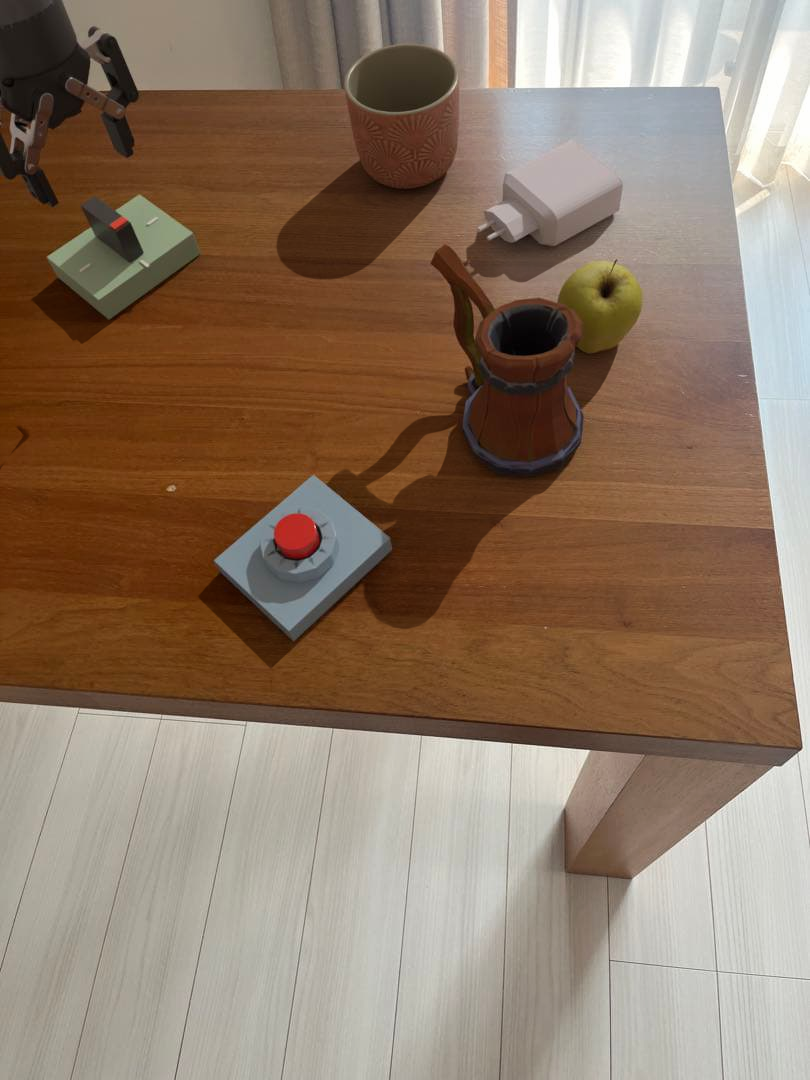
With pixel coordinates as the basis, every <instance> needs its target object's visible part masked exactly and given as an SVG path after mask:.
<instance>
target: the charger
mask: <svg viewBox="0 0 810 1080" xmlns="http://www.w3.org/2000/svg"><path fill="white" fill-rule="evenodd" d="M623 188H624V184H623V181H622V179H621V177H620V176H619V175H618V174H617V173H616V171H615V170H613V169H612V168H610V167H609V166H608V165H607V164H605V163H604V162H603V161H602V160H600V159H599V158H598V157H596V155H594V154H593V153H592V152H590V151H589V150H588V149H586V148H585V147H584V146H583V145H581V143H579V142H578V141H576V140H574V139H568V140H567V141H565V142H563V143H562V144H559V145H557V146H555V147H554V148H552V149H550V150H548V151H546V152H545V153H542V154H541V155H538V156H537V157H535V158H532V159H531V160H529V161H527V162H525V163H523V164H522V165H520V166H518V167H516V168H514V169H512V170H510V171H508V172H506V173H505V174H504V177H503V183H502V201H500V202H498V203H497V204H495V205H493V206H491V207H490V208H487V209H485V210H484V211H483V214H484V217H485V219H486V221H487V222H485V223H484V224H482V225H480V226H478V227H477V232H479V233H481V232H482V231H484V230H486V229H487V228H491V229H492V230H493V231H494V232H493V233H491V234H489V235H488V236H486V240H487V241H491V240H493V239H495V238H497V237H500V238H502V239H503V241H505V242H508V243H511V244H513V243H515V242H517V241H519V240H520V239H523V238H524V237H526V236H527V235H530V236H531V237H532V238H533V239H534V240H535V241H536V242H537V243H539V244H540V245H544V246H549V247H556V246H557V245H559V244H562V243H563V242H565V241H567V240H568V239H570V238H572V237H574V236H576V235H578V234H579V233H582V232H583V231H584V230H586V229H588V228H590V227H592V226H593V225H595V224H598V223H600V222H601V221H603V220H605V219H607V218H609V217H610V216H612V215H614V214H615V213H617V212H619V210H620V207H621V201H622V194H623Z"/></svg>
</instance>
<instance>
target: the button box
mask: <svg viewBox="0 0 810 1080" xmlns="http://www.w3.org/2000/svg"><path fill="white" fill-rule="evenodd" d="M295 513H300V514H304V515H307V516H308V517H310V518H311V519H312V520H313V521H314V523H315V526H316V529H317V532H318V535H319V544H318V546H317V548H316V550H315V551H314V552H313V553H312V554H311V555H309V556H308V557H306V558H303V559H290V558H288V557H286V556H284V555H283V554H282V553H281V552H280V550H279V548H278V546H277V543H276V541H275V538H274V530H275V527H276V525H277V523H278V522H279V521H280V520H281V519H282V518H283V517H285V516H287V515H290V514H295ZM391 541H392V540H391V537H390V536H389V535H387V534H386V533H385V532H384V531H382V530H381V529H380V528H379V527H377V526H376V524H374V523H373V522H371V520H369V519H368V518H367V517H365V516H364V515H363V514H362V513H361V512H359V511H358V510H357V509H356V508H355V507H353V506H352V505H351V504H350V503H348V502H347V501H346V500H345V499H343V498H342V497H341V496H340V495H339V494H338V493H336V492H335V491H334V490H333V489H332V488H331V487H329V486H328V485H327V484H325V483H324V482H323V481H322V480H321V479H319V478H318V477H317V476H315V474H312V475H311V476H310V477H309V478H308V479H306V480H305V481H304V482H303V483H302V484H300V485H299V486H298V487H297V488H296V489H295V490H294V491H292V492H291V493H290V494H289V495H288V496H287V497H285V498H284V499H283V500H282V501H281V502H280V503H278V505H276V506H275V507H274V508H273V509H272V510H270V511H269V512H268V513H267V514H266V515H264V516H263V517H262V519H260V520H259V521H257V523H256V524H254V525H253V526H252V527H250V529H248V530H247V531H246V532H245V533H244V534H242V535H241V536H240V537H239V538H238V539H237V540H236V541H235V542H233V543H232V544H231V545H230V546H229V547H228V548H226V549H225V550H224V551H223V552H222V553H220V554H219V555H217V557H216V558H215V559H213V562H214V564H215V566H216V567H217V570H218V571H219V572H220V573H221V574H222V576H224V577H225V579H227V580H228V581H229V582H230V583H232V585H233V586H234V587H235V588H236V589H237V590H239V591H240V592H241V594H243V595H244V596H245V597H246V598H247V599H248V600H249V601H250V602H251V603H252V604H253V605H254V606H255V607H256V608H257V609H259V610H260V612H262V614H264V615H265V616H266V617H267V618H268V619H269V620H270V621H271V622H272V623H274V624H275V626H277V627H278V628H279V629H280V630H281V631H282V632H283V633H284V634H285V635H286V636H287V637H288V638H289V639H290V640H291V641H292V642H295V641H296V640H297V639H298V638H299V637H300V636H301V635H303V634H304V633H305V631H307V630H309V628H310V627H311V626H312V625H313V624H315V623H316V622H317V620H318V619H320V617H322V616H323V615H324V614H325V613H326V612H328V610H330V609H331V608H332V607H333V606H334V605H335V604H336V602H338V601H339V600H340V599H341V598H342V597H343V596H344V595H345V594H347V593H348V592H349V591H350V590H351V589H352V588H353V587H354V586H355V585H356V584H357V583H358V582H360V580H362V579H363V578H364V577H365V576H366V575H367V574H368V573H370V572H371V571H372V570H373V568H375V566H376V565H378V564H379V563H380V562H381V561H382V560H384V558H385V557H387V555H388V554H389V553H391V552H392V551H393V546H392V542H391Z"/></svg>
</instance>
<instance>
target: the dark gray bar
mask: <svg viewBox="0 0 810 1080" xmlns="http://www.w3.org/2000/svg"><path fill="white" fill-rule="evenodd" d="M80 208H81V209H82V212H83V214H84V216H85V218H86V220H87V222H88V224H89V226H90V227H91V228H92V230H93V232H94V234H95V236H96V237H97V238H99V239H100V240H101V241H102V242H104V243H105V244H106V245H108V246H109V247H110V248H111V249H113V250H114V251H115V252H117V253H118V254H119V255H120V256H122V257H123V258H124V259H126V260H127V261H128V262H129V263H130V262H131V261H133V260H134V259H136V258H137V257H139V256H140V255H141V254H143V253H144V252H143V250H142V247H141V245H140V243H139V241H138V238H137V236H136V234H135V231H134V229H133V227H132V225H131V222H130V221H128V220H127V219H125V218H124V217H123V216H121V215H120V214H119V213H117V212H116V211H115V209H114V208H112V207H111V206H110V205H108V204H107V203H106V202H104V201H103V200H101V199H100V198H99V197H98V196H96V195H94V196H93V197H91V198H90V199H88V200H86V201H85V202H83V203H82V204H81V205H80Z"/></svg>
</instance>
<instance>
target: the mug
mask: <svg viewBox="0 0 810 1080" xmlns="http://www.w3.org/2000/svg"><path fill="white" fill-rule="evenodd" d="M430 264H431V265H432V266H433V267H434V268H435V269H436V270H437V271H438V272H439V273H440V274H441V275H442V277H443V278H444V279H445V280H446V282H447V283H448V284H449V287H450V291H451V294H452V298H453V307H454V311H453V323H452V325H453V330H454V333H455V337H456V340H457V342H458V343H459V346H460V347H461V349H462V350H463V352H464V353H465V355H466V357H467V358H468V360H469V361H470V363H471V366H470V365H467V366H465V367H464V373H465V377H466V380H467V381H468V382H467V389H468V391H469V393H470V394H471V395H470V397H468V398H467V399H466V400H465V403H464V409H463V416H462V417H463V418H462V424H461V425H462V428H461V429H462V434H463V436H464V438H465V440H466V443H467V444H468V446H469V448H470V450H471V452H472V454H473V456H474V457H475V458H476V460H478V461H479V462H481V463H482V464H483V465H485V466H486V467H487V468H489V469H491V470H492V471H494V472H495V473H496V474H497V475H499V476H509V477H519V478H520V477H521V478H532V477H533V478H534V477H536V476H540V475H544V474H547V473H550V472H554V471H557V470H561V469H563V467H564V465H565V464H566V463H567V462H568V461H569V459H571V457H572V456H573V454H574V453H575V452H576V451H577V449H578V448H579V447H580V446H581V444H582V438H583V437H582V436H583V426H584V415H585V414H584V412H583V411H582V409H581V407H580V405H579V403H578V401H577V399H576V397H575V395H574V393H573V392H572V389H571V387H570V386H568V373H570V371H571V370H572V369H573V365H574V359H575V358H574V357H575V352H576V351H575V350H576V347H577V344H578V342H579V341H580V339H581V337H582V330H583V323H582V321H581V320H580V318H579V317H578V315H577V313H576V312H575V311H573V310H571V309H569V308H568V305H564V304H560V303H557V301H553V300H549V299H545V298H542V297H535V298H533V297H532V298H525V299H524V298H523V299H517V300H516V299H515V300H514V301H511V302H508V303H505V304H502V305H500V306H498V307H497V308H495V307H494V305H493V304H492V302H491V300H490V299H489V298H488V296H487V295H486V293H485V291H484V290H483V288H482V287H481V286H480V285H479V284H478V282H476V281H475V279H474V277H473V276H472V275H471V273H470V272H469V270H468V268H467V267H466V265H465V264H464V262H463V260H462V259H461V257H460V256H459V255H458V253H456V250H454V249H453V248H452V247H451V246H449V245H447V244H443V245H442V246H440V247H439V248H438V249H436V250H435V252H434V254H433V256H432V259H431V261H430ZM471 301H472V302H471ZM472 303H473V304H474V305H475V306H476V307H477V309H478V311H479V313H480V314H481V318H482V320H481V321H480V322H479V324H478V328H477V330H476V334H475V333H474V331H475V319H474V310H473V305H472ZM474 334H475V335H474Z"/></svg>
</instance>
